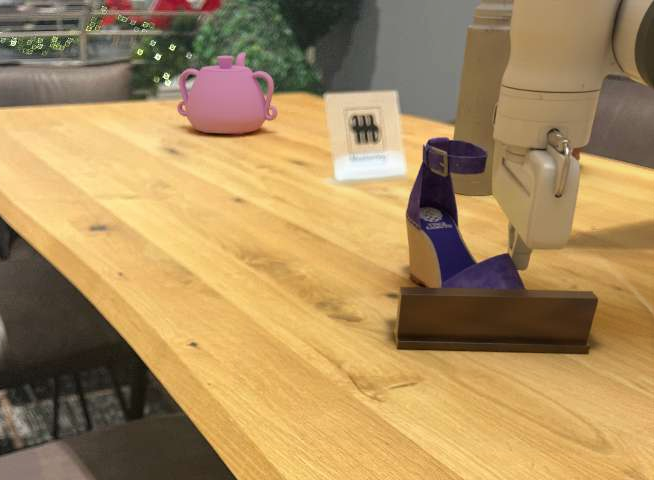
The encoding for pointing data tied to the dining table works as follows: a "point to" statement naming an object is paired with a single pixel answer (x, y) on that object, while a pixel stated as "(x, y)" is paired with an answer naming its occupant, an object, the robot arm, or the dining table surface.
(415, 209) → the sandal
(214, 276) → the dining table surface
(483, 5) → the thermos bottle
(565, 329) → the shoe rail
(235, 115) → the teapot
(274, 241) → the dining table surface
